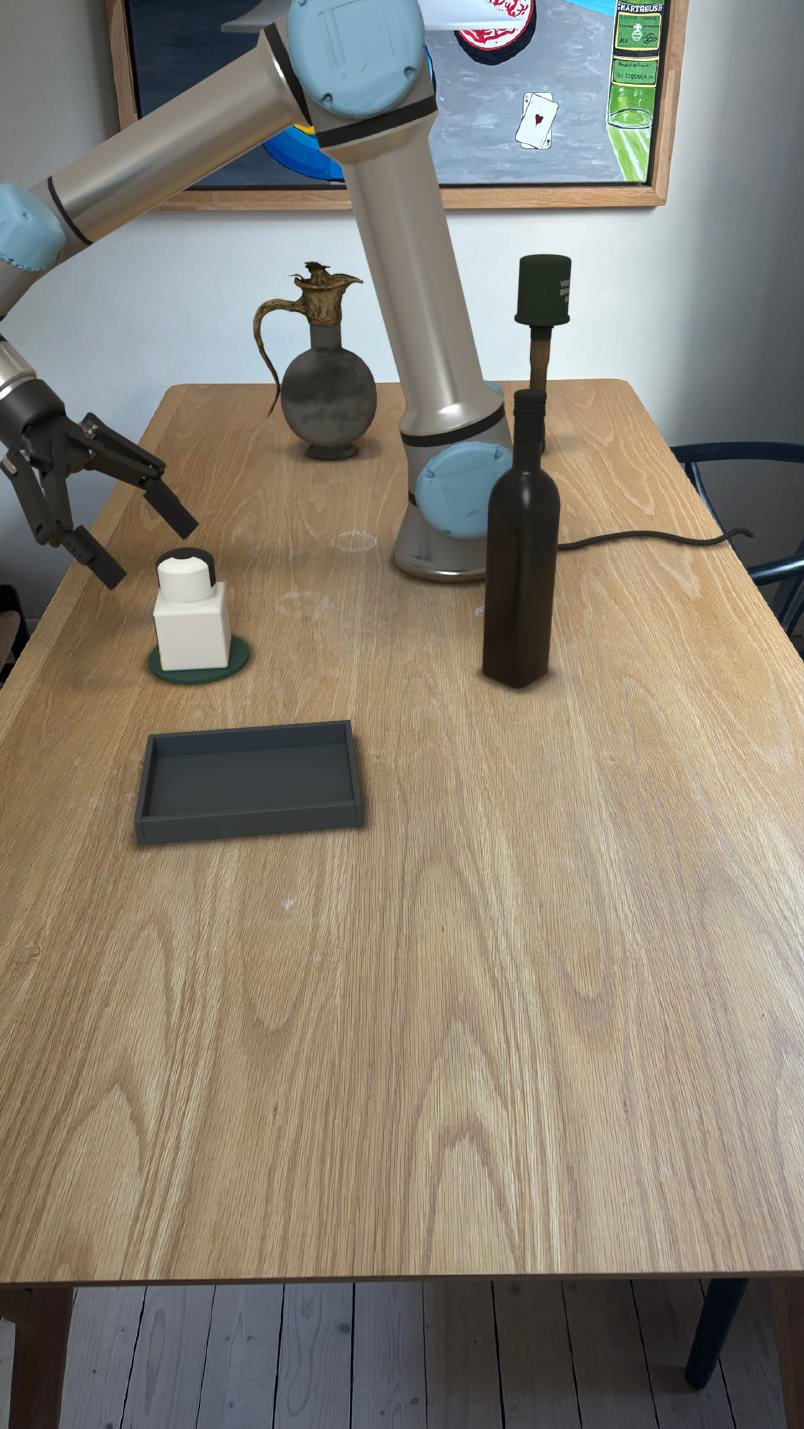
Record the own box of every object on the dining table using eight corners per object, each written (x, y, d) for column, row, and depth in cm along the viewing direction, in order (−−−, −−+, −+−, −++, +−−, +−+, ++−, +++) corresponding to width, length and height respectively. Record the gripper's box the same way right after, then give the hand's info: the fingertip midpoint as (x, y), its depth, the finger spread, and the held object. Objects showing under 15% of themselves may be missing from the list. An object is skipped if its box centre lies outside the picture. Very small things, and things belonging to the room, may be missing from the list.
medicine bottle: (168, 640, 116) (153, 542, 110) (231, 637, 117) (220, 539, 110) (161, 672, 110) (144, 570, 104) (228, 669, 111) (215, 567, 104)
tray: (351, 740, 100) (350, 719, 99) (362, 825, 89) (361, 803, 88) (151, 755, 98) (148, 734, 97) (138, 844, 87) (133, 821, 86)
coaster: (249, 632, 119) (249, 628, 119) (248, 680, 110) (248, 676, 110) (153, 638, 118) (152, 634, 118) (144, 687, 109) (143, 683, 109)
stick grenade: (558, 463, 166) (572, 263, 150) (504, 460, 168) (513, 262, 151) (561, 446, 173) (576, 253, 157) (510, 443, 175) (520, 252, 158)
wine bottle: (511, 655, 114) (526, 380, 97) (552, 673, 110) (574, 392, 94) (477, 673, 110) (486, 392, 94) (517, 693, 107) (534, 405, 91)
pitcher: (381, 461, 168) (376, 264, 151) (264, 467, 166) (246, 268, 150) (375, 440, 177) (370, 252, 160) (264, 446, 175) (247, 256, 159)
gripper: (72, 391, 117) (200, 532, 121) (-92, 460, 98) (67, 626, 101) (102, 347, 113) (235, 495, 116) (-63, 411, 93) (102, 585, 97)
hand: (157, 556), depth 109 cm, fingers open, 13 cm apart
